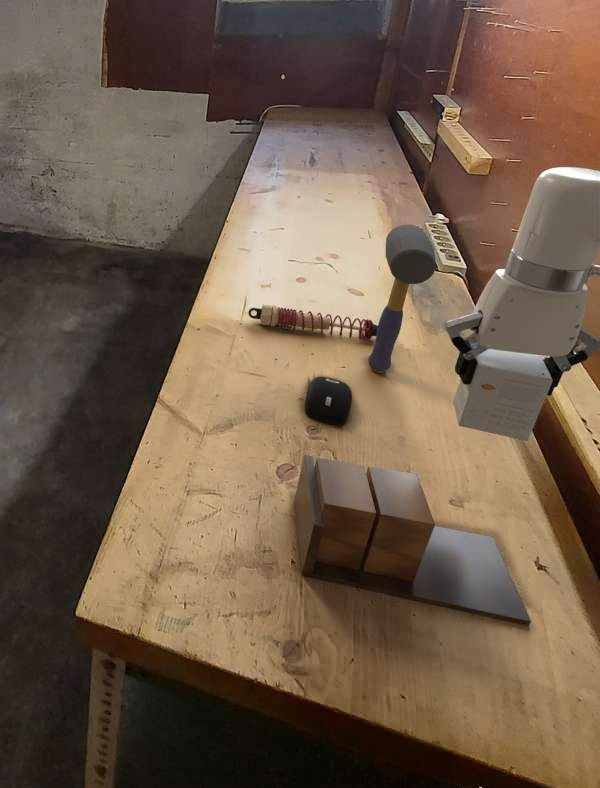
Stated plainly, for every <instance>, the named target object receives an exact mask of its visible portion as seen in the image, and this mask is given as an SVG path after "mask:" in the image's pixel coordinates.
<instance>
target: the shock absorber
mask: <svg viewBox="0 0 600 788" xmlns="http://www.w3.org/2000/svg"><path fill="white" fill-rule="evenodd" d="M254 311H255V312H256V314H255V315H253V314H252V312H254ZM247 312H248V316H249V317H250V318H251V319H254V320H259V322H260V325H265V326H270V327H275V326H277V327H283V328H288V329H289V328H290V329H292V328H293V329H296V327H297V328H301V329H302V331H305V329H311V333H313V332H314V331H317V330H320V333H321V334H323V333H324V330H325V331H328V330H330V335H333V330H334V327H335V328H340V332H339V336H342V335H343V329H349V338H351V337H352V335H353V330H356V331H358V338H359V339H363V340H367V341H368V340H370V339H371V338H372V337H377V328H378V324H375V323H373V321H372V319H365V318H363V319H362V320H361V319H360V318H359V317H356V318H355V319H354V320H353V321H352V319H351V318H350V316H346V317H345V318H344V319H343V321H342V317H341V316H340V315H339V314H338V315H336V316H335V317H334V319H333V317H332V314H330V313H327V314H326V316H323V314H322V313H321V312H317V314H314V313H313V312H312V311H311V310H310V311H308V312H307V313H306V312H304V311H303V310H302V309H300V310H299V311H297V309H293V308H287V307H284V308H283V307H280V306H277V305H270V304H262V306H261V308H260V307H259V308H258V307H251V308H249V309H248V311H247ZM337 318H338V319H339V323H336V320H337ZM347 319H348V321H349V324H345V322H346V320H347ZM356 321H358V324H359V326H356V325H355V323H356ZM362 325H363V326H362Z"/></svg>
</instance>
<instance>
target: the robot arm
mask: <svg viewBox="0 0 600 788" xmlns="http://www.w3.org/2000/svg"><path fill="white" fill-rule="evenodd" d="M599 250H600V170H596V169H592V168H585V167H575V166H560V167H559V166H558V167H552V168H549V169H546V170H544V171H543V172H542V173H540V174H539V175H538V177H537V178H536V180H535V182H534V185H533V188H532V190H531V193H530V196H529V199H528V201H527V205H526V207H525V211H524V213H523V215H522V219H521V222H520V224H519V227H518V230H517V233H516V236H515V239H514V242H513V245H512V248H511V251H510V253H509V255H508V259H507V262H506V266H505V268H499V269H496V270H495V272H494V273H493V274H492V276H491V277H490V279H489V280H488V282H487V283H486V285H485V287H484V288H483V290H482V292H481V294H480V295H479V298H478V299H477V303H476V305H475V307H474V308H473V311H472V313H471V314H467V315H464V316H460V317H457V318H454V319H450V320H447V321H444V323H443V326H444V328H445V331H446V333H447V335H448V337H449V339H450V341H451V343H452V345H453V346H454V347H455V348H456V349H457V350H458V351H459V354H458V357H457V359H456V363H455V365H454V372H455V374H456V375H458V377H459V378H460V379H461V380H462V382H463V384H466V385H469V384H470V383H471V381H472V378H473V375H474V372H475V369H476V366H477V364H478V362H477V360H476V358H475V357H477V356H478V355H480V354H482V353H483V352H485V351H486V350H488V349H493V350H500V351H508V352H516V353H525V354H533V355H539V356H541V357H543V356H544V358H542V359H543V361H544V363H545V365H546V367H547V369H548V371H549V373H550V375H551V378H552V380H553V381H552V384H551V386H550V389H549V391H548V394H547V396H550V397H551V396H552V394H553V392H554V390H555V388H558V386H559V384H560V382H561V379H562V377H563V374H564V373H566V372H570V371H571V370H572V367H573V366H576V365H578V364H580V363H583V362H585V361H587V360H588V359H589V356H592V355H594V354H595V353H597V352H599V351H600V339H599V337H597V336H596V335H594V334H592V333H591V332H589V331H588V330H586V329H584V328H583V327H582V325H583V322H584V319H585V313H586V309H587V304H588V303H587V302H588V295H589V294H588V293H589V292H588V291H589V287H588V286H587V285H586V284H587V282H588V280H589V278H592V277H600V265H599V264H594V262H595V259H596V257H597V255H598V252H599ZM467 330H470V331H472V333H471V334H469V335H468V336H467V337H462V335H461V333H462V332H463V331H467ZM577 340H578V341H579V342H580V343H578V345H576V343H577ZM460 379H459V380H460ZM547 396H546V397H547Z"/></svg>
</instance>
